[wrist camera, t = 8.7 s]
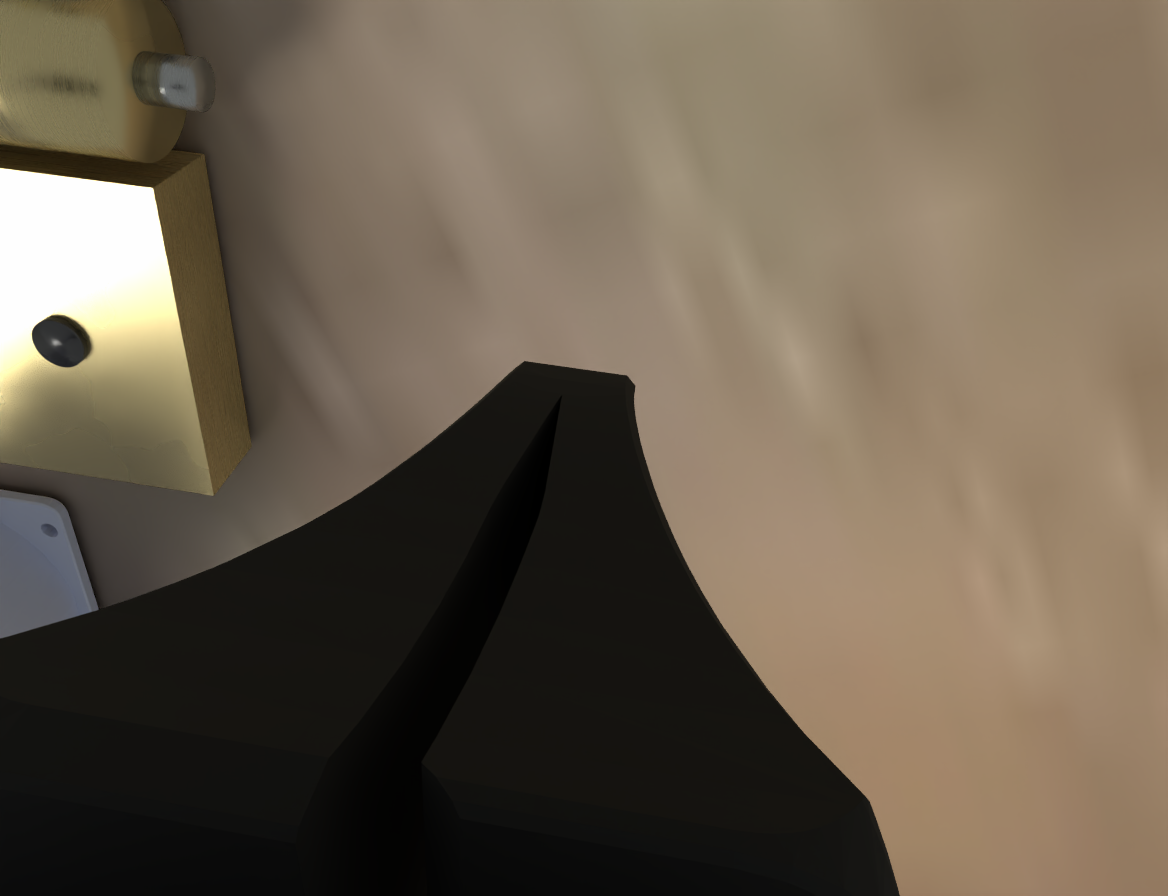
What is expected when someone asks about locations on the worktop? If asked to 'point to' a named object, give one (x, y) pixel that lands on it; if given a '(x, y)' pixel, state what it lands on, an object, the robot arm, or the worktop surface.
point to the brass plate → (110, 253)
